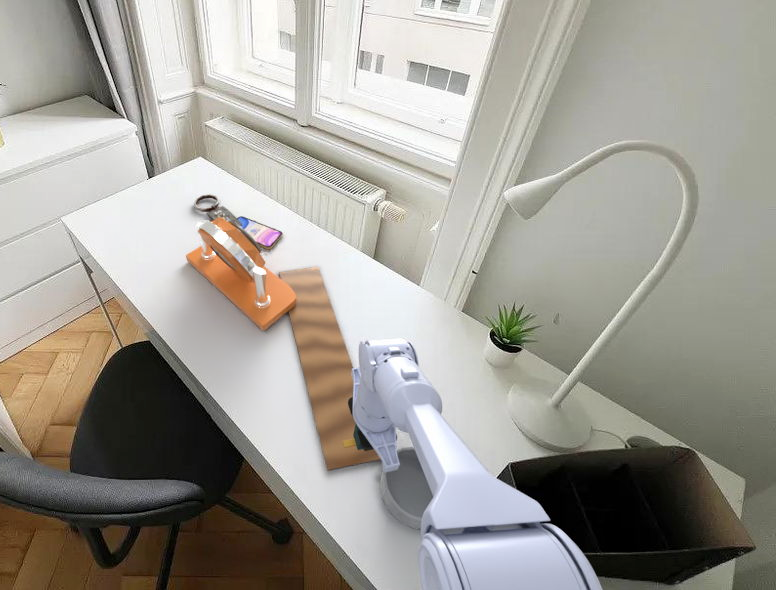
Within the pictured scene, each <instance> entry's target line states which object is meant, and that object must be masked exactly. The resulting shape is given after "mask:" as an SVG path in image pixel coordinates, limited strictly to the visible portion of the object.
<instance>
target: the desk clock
mask: <svg viewBox="0 0 776 590" xmlns="http://www.w3.org/2000/svg"><path fill="white" fill-rule="evenodd" d="M195 226H196V230H197V235H198V239H199V243H200V246H199V247H197V248H196V249H194V250H192V251H190V252H189V253H187V254H186V255H185V258H186V261H187V262H188V263H189V264H190V265H191V266H192V267H193V268H195V270H196V271H198V272H199V273H200V275H202V276H203V277H204V278H205V279H206V280H207V281H208V282H209V283H211V284H212V286H214V287H215V288H216V289H217V290H218V291H219V292H220V293H221V294H222V295H224V296H225V297H226V299H228V300H229V301H230V302H231V303H232V304H234V306H235V307H237V308H238V309H239V310H240V311H241V312H242V313H243V314H244V315H245V316H247V318H248V319H249V320H250V321H252V322H253V323H254V324H255V325H256V326H257V327H258V328H259V329H260V330H262V331H263V332H265V331H266V330H268V328H270V327H271V325H273V324H274V323H275V322H277V321H278V320H279V319H281V318H282V317H283V316H284V315H285V314H286V313H289V310H290V309H291V308H293V307H294V306H295V304H296V295H295V292H294V291H293V290H292V288H291V287H290V286H289V285H287V284H286V283H285V282H284V281H282V280H281V279H280V276H277V275H276V274H275V273H274V272H272V271H271V270H270V269H269V268H267V267H266V266H265V265H266V260H265V259H264V258H263V257H262V247H261V246H259V245H258V244H257V242H256V241H255V240H254V239H253V238H252V237H251V235H250V234H249V233H248V232H247V231H245V230H244V229H243V228H242V227H241V226H240V225H238V224H237V223H235V222H234V221H232V220H228V222H227V221H226V220H225V219H223V218H222V217H219V218H217V219H215V220H213V221H212V220H211V221H210V220H204V221H203V222H200V221H199V222H196V223H195Z"/></svg>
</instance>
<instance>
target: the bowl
mask: <svg viewBox="0 0 776 590" xmlns="http://www.w3.org/2000/svg"><path fill="white" fill-rule="evenodd" d="M397 456H398V460H399V463H400V465H399V468H398V470H394V471H390V472H385V473H384V471H383V470H382V471H381V474H380V479H379V487H380V488H379V489H380V494H381V497H382V500H383V502H384V505H385V506H386V508H387V510H388V511H389V513H390V514H391V515H392V516H393V517H394V518H395V519H396V520H397V521H398V522H400V523H401V524H403V525H404V526H406V527H409V528H412V529H417V530H421V521H422V517H423V514H424V511H425V510H426V508H427V507H428V505H429V504H430V502H431V500H432V499H433V494H432V492H431V489H430V487H429V484H428V482H427V479H426V477H425V474H424V472H423V469H422V467H421V464H420V462H419V459H418V456H417V454H416V451H415V449H414V446H407V447H400V448H397Z"/></svg>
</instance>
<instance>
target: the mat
mask: <svg viewBox="0 0 776 590" xmlns="http://www.w3.org/2000/svg"><path fill="white" fill-rule="evenodd" d="M278 275H279V278H280V279H281V280H282V281H284V282H285V283H286V284H287V285H289V286H290V287H291V288H292V290H293V291H294V292H295V295H296V304H295V306H294V307H293V308H291V309H290V310H289V311H288V315H289V320H290V324H291V327H292V332H293V336H294V340H295V343H296V348H297V352H298V355H299V361H300V364H301V368H302V373H303V377H304V380H305V381H304V382H305V385H306V389H307V394H308V397H309V402H310V405H311V409H312V414H313V417H314V418H313V419H314V421H315V426H316V429H317V434H318V438H319V442H320V446H321V450H322V454H323V458H324V459H323V460H324V463H325V467H326V471H333V470H338V469H341V468H342V469H343V468H347V467H352V466H356V465H361V464H365V463H371V462H375V461H380V460H381V459H380V457H379V455H378V454H377V452H376V451H375V450H374V449H373V450H369V451H364V449H361V450H358V449H357V446H353V447H348V448H344V445H343V441H345V440H350V439H354V436H353V434H354V429H355V425H356V423H355V421H354V418H353V415H352V414H351V412H350V409H349V406H348V400H349V399H350V398H351V397H353V379H352V377H351V372H352V368H354V365H353V363H352V361H351V360H352V359H351V358H350V354H349V351H348V349H347V346H346V343H345V340H344V338H343V334H342V331H341V328H340V326H339V323H338V320H337V317H336V315H335V312H334V308H333V305H332V303H331V300H330V297H329V295H328V291H327V289H326V286H325V283H324V280H323V276H322V275H321V271H320V268H319V266H312V267H311V266H310V267H305V268H299V269H298V268H297V269H292V270H285V271H279V272H278ZM381 461H382V460H381Z"/></svg>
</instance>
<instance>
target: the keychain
mask: <svg viewBox="0 0 776 590" xmlns="http://www.w3.org/2000/svg"><path fill="white" fill-rule="evenodd" d="M207 199H212V200H215V201H216V203H215V204H213V205H211V206H209V207H201V206H198V203H199V202H201V201H203V200H207ZM220 203H221V202H220V199H219V197H218V195H214V194H211V193H208V194H202V195H200V196H198V197H197V198H196V199H195V200H194V203H193V206H194V209H195V210H196V211H198V212H201V213H205V214H206V215H207V216H208V217H209V219H210V220H211V221H213V220H215V219H217V218H219V217H222V218H223V219H225V220H226V221H227V222H228V220H232V221H234V222H235V223H237V224H238V225H240V226H242V224H241V223H240V221H239V220H238V219H237V218H238V217H236V215H234V214H233V213H232V212H231V211H230V209H228V208H226V207H225V206H223V205H222V206H220Z"/></svg>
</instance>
